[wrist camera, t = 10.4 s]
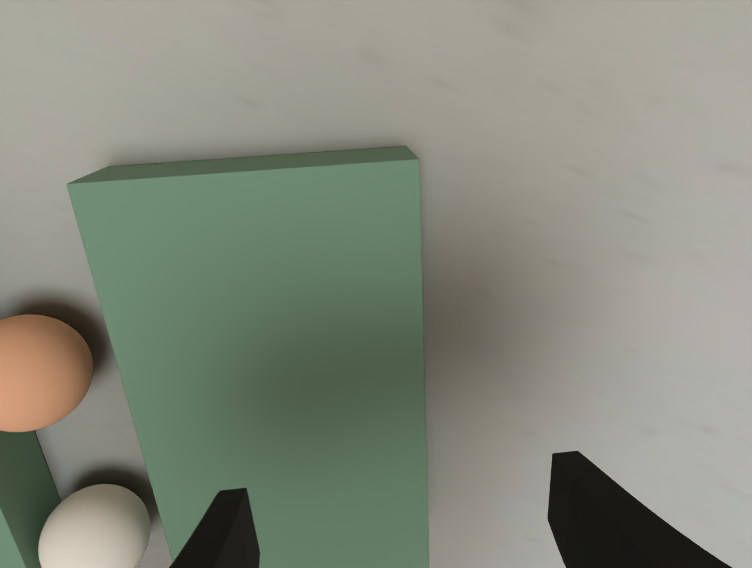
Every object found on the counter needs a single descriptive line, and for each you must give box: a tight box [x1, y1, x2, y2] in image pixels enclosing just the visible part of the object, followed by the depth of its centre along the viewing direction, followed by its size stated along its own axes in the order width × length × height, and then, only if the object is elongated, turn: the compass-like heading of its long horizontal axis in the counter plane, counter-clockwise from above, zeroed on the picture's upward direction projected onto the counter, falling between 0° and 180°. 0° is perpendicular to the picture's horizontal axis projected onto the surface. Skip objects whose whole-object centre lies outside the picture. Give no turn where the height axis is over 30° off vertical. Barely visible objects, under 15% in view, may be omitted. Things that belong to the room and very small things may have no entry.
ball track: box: [0, 146, 429, 568], centre depth 20 cm, size 17×19×3 cm
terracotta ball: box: [0, 314, 93, 432], centre depth 18 cm, size 4×4×4 cm
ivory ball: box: [38, 484, 150, 568], centre depth 21 cm, size 4×4×4 cm
